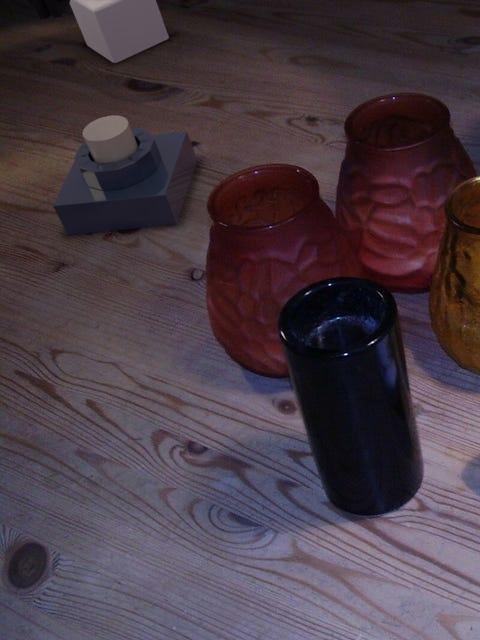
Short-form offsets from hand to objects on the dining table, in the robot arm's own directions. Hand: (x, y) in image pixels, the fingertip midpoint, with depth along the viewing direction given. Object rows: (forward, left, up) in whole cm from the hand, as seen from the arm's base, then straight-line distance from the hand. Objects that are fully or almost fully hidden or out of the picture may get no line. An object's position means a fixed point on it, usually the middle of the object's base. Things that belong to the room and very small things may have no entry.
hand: (55, 9), depth 79 cm
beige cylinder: (0, 0, -13) cm, 13 cm away
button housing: (0, 0, -19) cm, 19 cm away
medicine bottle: (-8, +31, -19) cm, 37 cm away
